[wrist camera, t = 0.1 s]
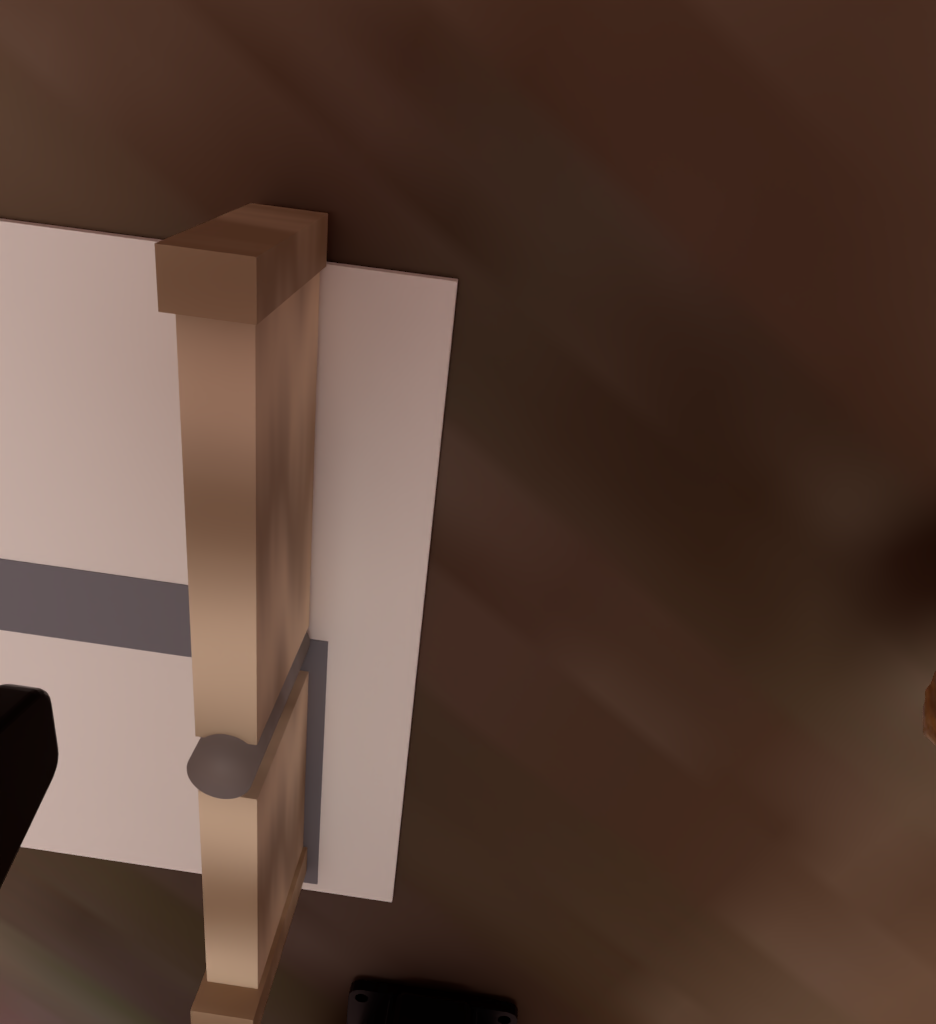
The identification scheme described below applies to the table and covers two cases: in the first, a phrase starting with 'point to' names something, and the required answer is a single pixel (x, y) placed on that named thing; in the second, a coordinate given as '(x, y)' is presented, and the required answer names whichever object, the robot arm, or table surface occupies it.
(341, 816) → the board
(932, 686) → the lion figurine
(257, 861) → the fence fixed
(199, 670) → the brown tall flat block
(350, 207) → the table surface
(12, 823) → the robot arm
